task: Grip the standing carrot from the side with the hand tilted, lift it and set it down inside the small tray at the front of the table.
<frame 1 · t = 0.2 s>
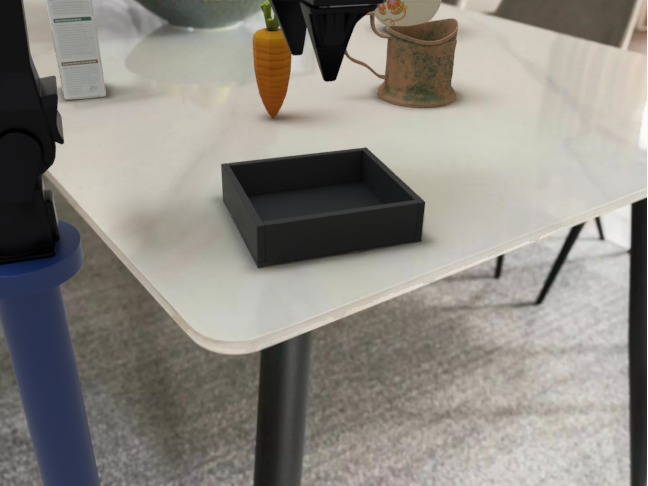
hand: (312, 67, 64), 13 cm above the table, tool pointing down, fingers open, 9 cm apart
syrup box: (83, 94, 97), on the table
tray: (317, 219, 65), on the table
bowl: (401, 32, 136), on the table
mug: (396, 97, 99), on the table
carrot: (272, 118, 90), on the table
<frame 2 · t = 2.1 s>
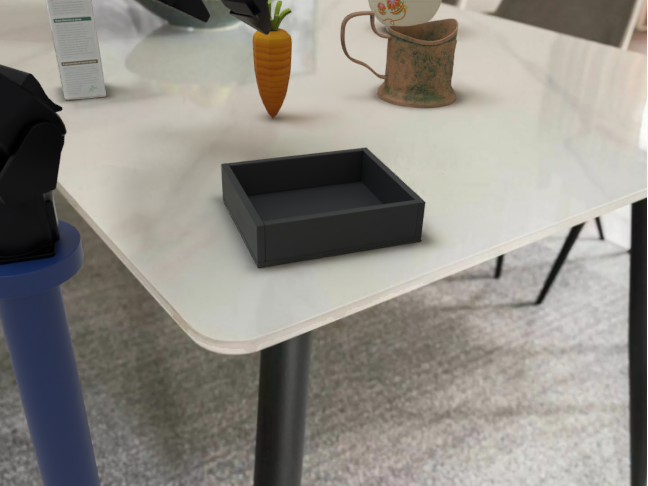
hand: (237, 25, 77), 13 cm above the table, tool tilted 45°, fingers open, 9 cm apart
nothing on the table moved.
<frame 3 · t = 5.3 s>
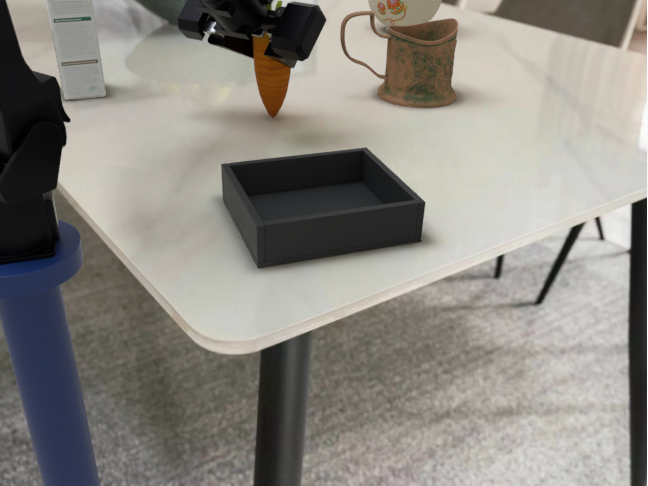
hand: (278, 61, 87), 7 cm above the table, tool tilted 45°, fingers closed on carrot, 5 cm apart
carrot: (272, 118, 90), on the table, touching gripper
everything else where it was.
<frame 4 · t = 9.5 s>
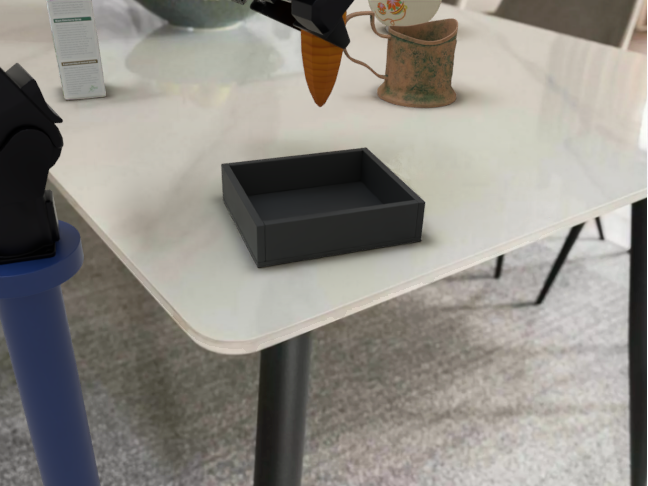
hand: (333, 40, 72), 13 cm above the table, tool tilted 45°, fingers closed on carrot, 5 cm apart
carrot: (320, 108, 75), point 6 cm above the table, touching gripper
everything else where it was.
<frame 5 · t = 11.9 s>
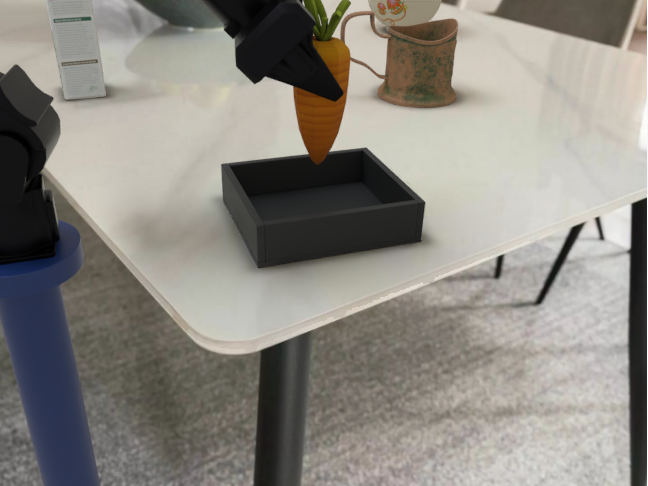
hand: (335, 88, 59), 13 cm above the table, tool tilted 45°, fingers closed on carrot, 5 cm apart
carrot: (317, 166, 62), point 6 cm above the table, touching gripper
everything else where it was.
when the fingers open (8 cm above the table, at t = 14.0 s): carrot stays where it is, resting on tray.
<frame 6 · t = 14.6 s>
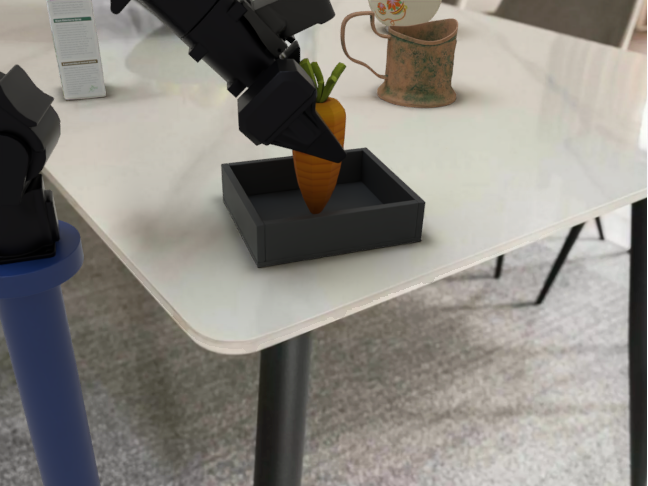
hand: (335, 139, 61), 8 cm above the table, tool tilted 45°, fingers open, 9 cm apart
carrot: (315, 216, 65), resting on tray
everything else where it was.
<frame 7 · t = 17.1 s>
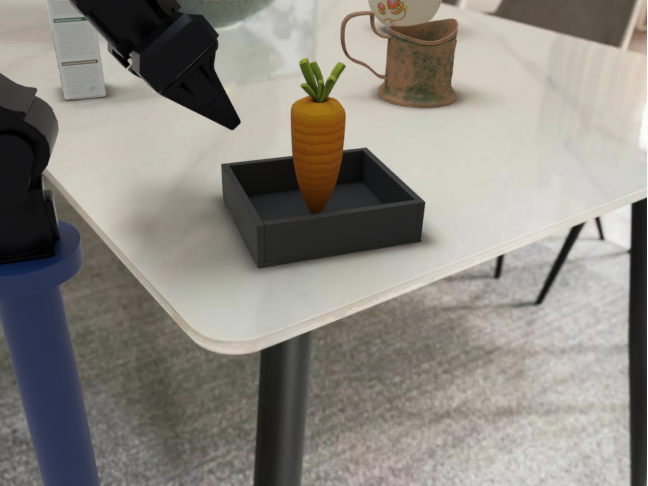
hand: (221, 116, 60), 10 cm above the table, tool tilted 40°, fingers open, 9 cm apart
nothing on the table moved.
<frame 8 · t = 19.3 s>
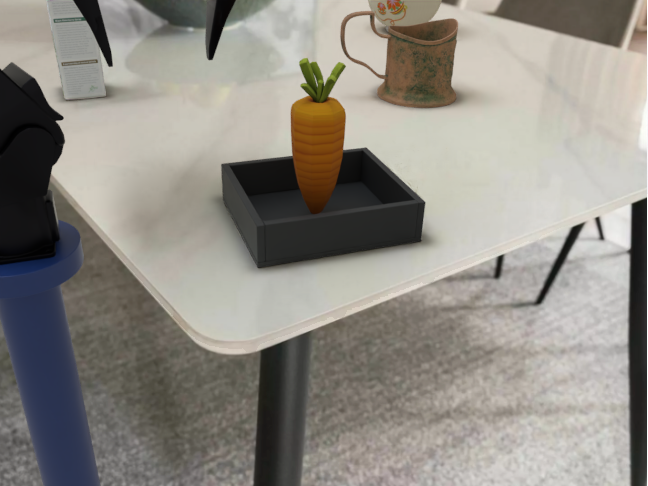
hand: (161, 62, 64), 13 cm above the table, tool pointing down, fingers open, 9 cm apart
nothing on the table moved.
at the end: carrot inside the target area in the tray (0.2 cm from its centre), point 0.3 cm above the tray's base; the gripper is holding nothing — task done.
